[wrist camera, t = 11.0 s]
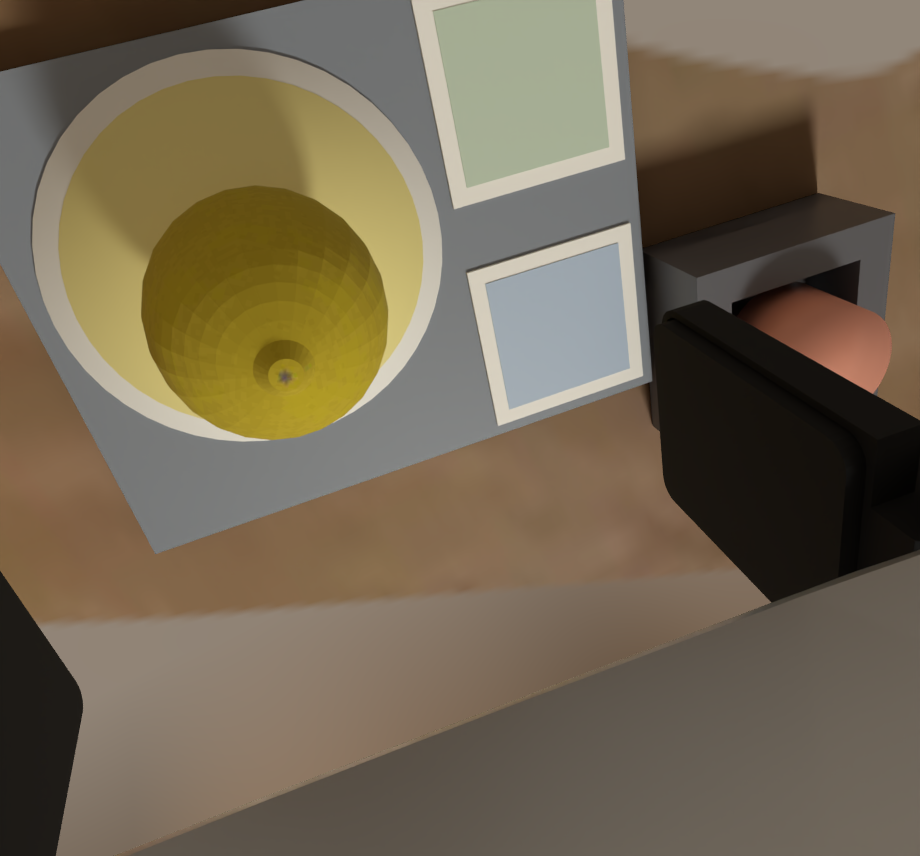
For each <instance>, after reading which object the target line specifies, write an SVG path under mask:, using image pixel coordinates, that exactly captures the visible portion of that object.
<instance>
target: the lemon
mask: <svg viewBox="0 0 920 856" xmlns="http://www.w3.org/2000/svg"><path fill="white" fill-rule="evenodd" d="M141 319H142V323H143V327H144V332H145V336H146V340H147V344H148V348H149V352H150V354H151V356H152V358H153V360H154V362H155V364H156V366H157V367H158V369H159V371H160V373H161V374H162V376H163V378H164V380H165V382H166V383H167V385H168V386H169V388H170V389H171V390H172V391H173V392H174V393H175V394H176V395H177V396H178V397H179V398H180V399H181V400H182V401H183V402H184V403H185V404H186V405H187V406H188V408H189V409H190V410H191V411H192V412H194V413H195V414H197V415H198V416H200V417H202V418H203V419H205V420H206V421H208V422H210V423H211V424H213V425H214V426H216V427H218V428H220V429H223V430H226V431H229V432H232V433H235V434H238V435H240V436H243V437H248V438H257V439H266V440H278V439H287V438H296V437H300V436H303V435H306V434H309V433H312V432H315V431H318V430H321V429H323V428H325V427H326V426H328V425H330V424H331V423H333V422H335V421H336V420H338V419H339V418H341V417H343V416H344V415H345V414H346V413H347V412H348V411H349V410H350V409H352V408H353V407H354V406H355V405H356V404H357V403H358V402H359V401H360V400H361V399H362V398H363V396H364V395H365V393H366V391H367V390H368V388H369V386H370V385H371V383H372V382H373V380H374V378H375V377H376V375H377V373H378V371H379V367H380V364H381V361H382V358H383V355H384V352H385V348H386V344H387V329H388V305H387V300H386V295H385V291H384V286H383V281H382V277H381V274H380V272H379V270H378V268H377V266H376V264H375V262H374V260H373V258H372V256H371V254H370V252H369V250H368V248H367V246H366V245H365V243H364V242H363V241H362V240H361V238H360V237H359V236H358V235H357V234H356V233H355V232H354V230H353V229H352V228H351V227H350V226H349V225H348V223H347V222H346V221H345V220H344V219H343V218H342V217H340V216H339V215H337V214H336V213H334V212H333V211H332V210H330V209H329V208H327V207H326V206H324V205H323V204H321V203H320V202H318V201H317V200H315V199H313V198H310V197H307V196H304V195H302V194H299V193H296V192H294V191H291V190H288V189H284V188H275V187H266V186H257V185H254V186H248V187H241V188H234V189H227V190H223V191H221V192H219V193H216V194H214V195H212V196H210V197H207V198H205V199H203V200H200V201H198V202H196V203H195V204H194V205H192V206H191V207H190V208H189V209H187V210H186V211H185V212H184V213H182V214H181V215H180V216H179V217H177V218H176V219H175V220H174V221H173V222H172V223H171V224H170V226H169V227H168V229H167V230H166V231H165V233H164V234H163V236H162V237H161V239H160V240H159V241H158V243H157V244H156V246H155V247H154V248H153V251H152V254H151V257H150V260H149V263H148V266H147V269H146V272H145V275H144V278H143V282H142V302H141Z"/></svg>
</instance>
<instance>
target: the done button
mask: <svg viewBox="0 0 920 856" xmlns="http://www.w3.org/2000/svg"><path fill="white" fill-rule="evenodd" d="M737 317H738V318H740V319H741V320H743V321H745V322H747V323H748V324H750V325H752V326H754V327H755V328H757V329H759V330H761V331H763V332H764V333H766V334H768V335H770V336H771V337H773V338H775V339H777V340H778V341H780V342H782V343H784V344H786V345H787V346H789V347H791V348H793V349H794V350H796V351H798V352H800V353H801V354H803V355H805V356H807V357H808V358H810V359H812V360H814V361H816V362H817V363H819V364H821V365H823V366H824V367H826V368H828V369H830V370H831V371H833V372H835V373H837V374H839V375H840V376H842V377H844V378H846V379H847V380H849V381H851V382H853V383H854V384H856V385H858V386H860V387H862V388H863V389H865V390H867V391H869V392H870V393H872V394H873V393H874V392H875V390H876V389H877V388H878V386H879V384H880V383H881V381H882V379H883V377H884V375H885V373H886V370H887V367H888V364H889V361H890V356H891V349H892V341H891V334H890V331H889V328H888V326H887V324H886V323H885V321H884V320H883V319H882V318H881V317H880V316H879V315H878V314H876V313H874V312H872V311H869V310H867V309H865V308H862V307H860V306H857V305H855V304H853V303H850V302H848V301H845V300H843V299H841V298H838V297H836V296H833V295H831V294H829V293H826V292H824V291H821V290H819V289H817V288H814V287H812V286H809V285H807V284H805V283H802V282H797V281H795V282H792V283H789V284H786V285H783V286H780V287H777V288H774V289H771V290H768V291H765V292H762V293H759V294H757V295H755V296H754V297H753V298H752V299H751V300H750V301H749V302H748V303H747V304H746V305H745V306H744V307H743V309H742V310H741V311H740V312H739V314H738V316H737Z"/></svg>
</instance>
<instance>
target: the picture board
mask: <svg viewBox="0 0 920 856" xmlns="http://www.w3.org/2000/svg"><path fill="white" fill-rule="evenodd" d="M254 185H257V186H266V187H275V188H284V189H288V190H291V191H294V192H296V193H299V194H302V195H304V196H307V197H310V198H313V199H315V200H317V201H318V202H320V203H321V204H323V205H324V206H326V207H327V208H329V209H330V210H332V211H333V212H334V213H336V214H337V215H339V216H340V217H342V218H343V219H344V220H345V221H346V222H347V223H348V225H349V226H350V227H351V228H352V229H353V230H354V232H355V233H356V234H357V235H358V236H359V237H360V238H361V240H362V241H363V242H364V243H365V245H366V246H367V248H368V250H369V252H370V254H371V256H372V258H373V260H374V262H375V264H376V266H377V268H378V270H379V272H380V274H381V277H382V281H383V286H384V291H385V295H386V300H387V305H388V329H387V344H386V348H385V352H384V355H383V358H382V361H381V364H380V367H379V371H378V373H377V375H376V377H375V378H374V380H373V382H372V383H371V385H370V386H369V388H368V390H367V391H366V393H365V395H364V396H363V398H362V399H361V400H360V401H359V402H358V403H357V404H356V405H355V406H354V407H353V408H352V409H350V410H349V411H348V412H347V413H346V414H345V415H344V416H343V417H341V418H339V419H338V420H336V421H335V422H333V423H331V424H330V425H328V426H326V427H325V428H323V429H321V430H318V431H315V432H312V433H309V434H306V435H303V436H300V437H296V438H287V439H278V440H266V439H257V438H248V437H243V436H240V435H238V434H235V433H232V432H229V431H226V430H223V429H220V428H218V427H216V426H214V425H213V424H211V423H210V422H208V421H206V420H205V419H203V418H202V417H200V416H198V415H197V414H195V413H194V412H192V411H191V410H190V409H189V408H188V406H187V405H186V404H185V403H184V402H183V401H182V400H181V399H180V398H179V397H178V396H177V395H176V394H175V393H174V392H173V391H172V390H171V389H170V388H169V386H168V385H167V383H166V382H165V380H164V378H163V376H162V374H161V373H160V371H159V369H158V367H157V366H156V364H155V362H154V360H153V358H152V356H151V354H150V352H149V348H148V344H147V340H146V336H145V332H144V327H143V323H142V319H141V302H142V282H143V278H144V275H145V272H146V269H147V266H148V263H149V260H150V257H151V254H152V251H153V248H154V247H155V246H156V244H157V243H158V241H159V240H160V239H161V237H162V236H163V234H164V233H165V231H166V230H167V229H168V227H169V226H170V224H171V223H172V222H173V221H174V220H175V219H176V218H177V217H179V216H180V215H181V214H182V213H184V212H185V211H186V210H187V209H189V208H190V207H191V206H192V205H194V204H195V203H196V202H198V201H200V200H203V199H205V198H207V197H210V196H212V195H214V194H216V193H219V192H221V191H223V190H227V189H234V188H241V187H248V186H254ZM0 264H1V266H2V268H3V270H4V272H5V274H6V276H7V277H8V279H9V281H10V283H11V285H12V287H13V289H14V291H15V292H16V294H17V296H18V298H19V300H20V302H21V304H22V306H23V307H24V309H25V311H26V313H27V315H28V317H29V319H30V320H31V322H32V324H33V326H34V328H35V330H36V332H37V334H38V335H39V337H40V339H41V341H42V343H43V345H44V347H45V349H46V350H47V352H48V354H49V356H50V358H51V360H52V362H53V363H54V365H55V367H56V369H57V371H58V373H59V375H60V377H61V378H62V380H63V382H64V384H65V386H66V388H67V390H68V392H69V393H70V395H71V397H72V399H73V401H74V403H75V405H76V406H77V408H78V410H79V412H80V414H81V416H82V418H83V420H84V421H85V423H86V425H87V427H88V429H89V431H90V433H91V434H92V436H93V438H94V440H95V442H96V444H97V446H98V448H99V449H100V451H101V453H102V455H103V457H104V459H105V461H106V463H107V464H108V466H109V468H110V470H111V472H112V474H113V476H114V477H115V479H116V481H117V483H118V485H119V487H120V489H121V491H122V492H123V494H124V496H125V498H126V500H127V502H128V504H129V506H130V507H131V509H132V511H133V513H134V515H135V517H136V519H137V520H138V522H139V524H140V526H141V528H142V530H143V532H144V534H145V535H146V537H147V539H148V541H149V543H150V545H151V547H152V549H153V550H154V552H155V554H157V553H160V552H163V551H165V550H168V549H171V548H174V547H177V546H180V545H183V544H186V543H188V542H191V541H194V540H197V539H200V538H203V537H206V536H209V535H211V534H214V533H217V532H220V531H223V530H226V529H229V528H232V527H234V526H237V525H240V524H243V523H246V522H249V521H252V520H255V519H257V518H260V517H263V516H266V515H269V514H272V513H275V512H278V511H280V510H283V509H286V508H289V507H292V506H295V505H298V504H301V503H303V502H306V501H309V500H312V499H315V498H318V497H321V496H324V495H326V494H329V493H332V492H335V491H338V490H341V489H344V488H347V487H349V486H352V485H355V484H358V483H361V482H364V481H367V480H370V479H372V478H375V477H378V476H381V475H384V474H387V473H390V472H393V471H395V470H398V469H401V468H404V467H407V466H410V465H413V464H416V463H418V462H421V461H424V460H427V459H430V458H433V457H436V456H439V455H441V454H444V453H447V452H450V451H453V450H456V449H459V448H462V447H464V446H467V445H470V444H473V443H476V442H479V441H482V440H485V439H487V438H490V437H493V436H496V435H499V434H502V433H505V432H508V431H510V430H513V429H516V428H519V427H522V426H525V425H528V424H531V423H533V422H536V421H539V420H542V419H545V418H548V417H551V416H554V415H556V414H559V413H562V412H565V411H568V410H571V409H574V408H577V407H579V406H582V405H585V404H588V403H591V402H594V401H597V400H600V399H602V398H605V397H608V396H611V395H614V394H617V393H620V392H623V391H625V390H628V389H631V388H634V387H637V386H640V385H643V384H646V383H648V382H651V381H652V368H651V355H650V342H649V329H648V316H647V303H646V290H645V277H644V264H643V250H642V237H641V224H640V211H639V198H638V185H637V172H636V159H635V146H634V133H633V120H632V106H631V93H630V80H629V67H628V54H627V41H626V28H625V15H624V2H623V0H303V1H299V2H295V3H290V4H286V5H282V6H278V7H273V8H269V9H265V10H261V11H256V12H252V13H248V14H244V15H239V16H235V17H231V18H227V19H222V20H218V21H214V22H210V23H205V24H201V25H197V26H193V27H188V28H184V29H180V30H175V31H171V32H167V33H163V34H158V35H154V36H150V37H146V38H141V39H137V40H133V41H129V42H124V43H120V44H116V45H112V46H107V47H103V48H99V49H95V50H90V51H86V52H82V53H78V54H73V55H69V56H65V57H61V58H56V59H52V60H48V61H43V62H39V63H35V64H31V65H26V66H22V67H18V68H14V69H9V70H5V71H1V72H0Z"/></svg>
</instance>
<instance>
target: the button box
mask: <svg viewBox="0 0 920 856" xmlns="http://www.w3.org/2000/svg"><path fill="white" fill-rule="evenodd" d="M894 221H895V213H892V212H888V211H885V210H881V209H877V208H873V207H870V206H866V205H862V204H858V203H854V202H851V201H847V200H843V199H839V198H835V197H832V196H828V195H824V194H820V193H817V194H814V195H811V196H808V197H804V198H801V199H798V200H795V201H792V202H788V203H785V204H782V205H779V206H776V207H773V208H769V209H766V210H763V211H760V212H757V213H754V214H750V215H747V216H744V217H741V218H738V219H734V220H731V221H728V222H725V223H722V224H719V225H715V226H712V227H709V228H706V229H703V230H699V231H696V232H693V233H690V234H687V235H684V236H680V237H677V238H674V239H671V240H668V241H665V242H661V243H658V244H655V245H652V246H649V247H645V248H642V250H643V264H644V277H645V290H646V303H647V316H648V329H649V342H650V355H651V368H652V381H651V382H649V384H650V396H651V409H652V422H653V426H654V427H655V428H656V429H657V430H659V431H660V424H659V410H658V397H657V383H656V369H655V356H654V342H653V331H654V328H655V326H656V325H658V324H661V323H662V319H663V315H664V314H665V313H666V311H670V310H673V309H676V308H679V307H682V306H685V305H688V304H692V303H695V302H698V301H701V300H707V301H710V302H711V303H713V304H715V305H717V306H718V307H720V308H722V309H724V310H725V311H727V312H729V313H731V314H732V315H734V316H736V317H737V316H738V314H739V312H740V311H741V310H742V309H743V307H744V306H745V305H746V304H747V303H748V302H749V301H750V300H751V299H752V298H753V297H754V296H755V295H757V294H759V293H762V292H765V291H768V290H771V289H774V288H777V287H780V286H783V285H786V284H789V283H792V282H795V281H797V282H802V283H805V284H807V285H809V286H812V287H814V288H817V289H819V290H821V291H824V292H826V293H829V294H831V295H833V296H836V297H838V298H841V299H843V300H845V301H848V302H850V303H853V304H855V305H857V306H860V307H862V308H865V309H867V310H869V311H872V312H874V313H876V314H878V315H879V316H880V317H881V318H882V319H883V320H884V321H885V311H886V301H887V291H888V281H889V271H890V261H891V251H892V241H893V231H894ZM877 391H878V388H877V389H876V390H875V392H874V393H873V394H874V395H876V396H877Z"/></svg>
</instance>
